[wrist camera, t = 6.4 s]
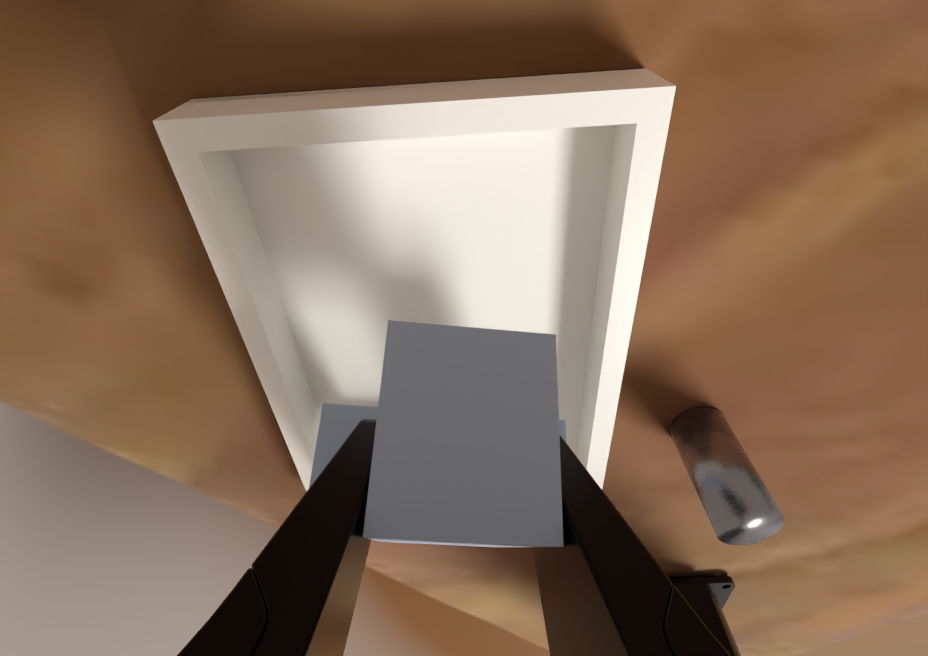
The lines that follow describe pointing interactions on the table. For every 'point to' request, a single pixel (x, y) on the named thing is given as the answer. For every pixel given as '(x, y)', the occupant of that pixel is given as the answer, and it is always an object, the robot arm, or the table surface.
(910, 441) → the table surface
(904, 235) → the table surface
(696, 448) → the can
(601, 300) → the tray
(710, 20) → the table surface
